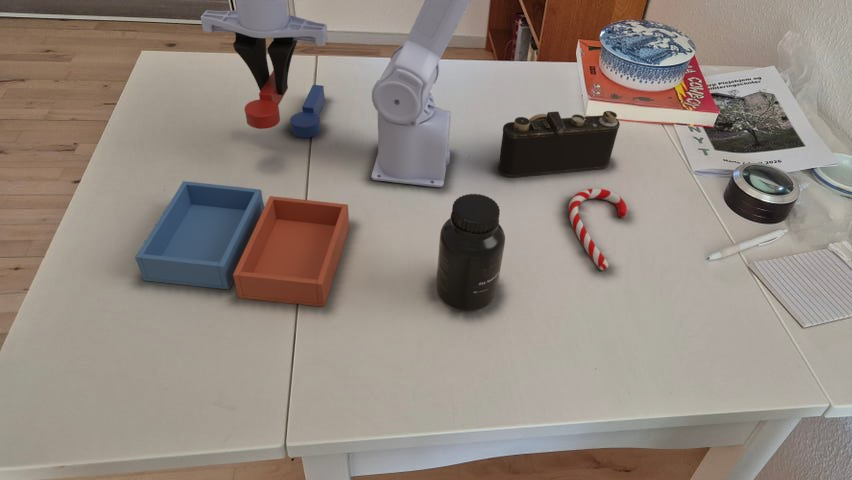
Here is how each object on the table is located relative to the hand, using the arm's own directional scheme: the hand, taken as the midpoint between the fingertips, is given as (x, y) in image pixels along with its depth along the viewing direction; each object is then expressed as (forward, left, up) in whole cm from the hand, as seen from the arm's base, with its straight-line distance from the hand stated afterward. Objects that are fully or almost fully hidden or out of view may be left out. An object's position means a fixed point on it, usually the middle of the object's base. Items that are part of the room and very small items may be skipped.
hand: (274, 90), depth 86 cm
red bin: (-8, +22, -8) cm, 25 cm away
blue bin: (+3, +21, -8) cm, 23 cm away
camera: (-37, -3, -9) cm, 38 cm away
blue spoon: (-2, -7, -8) cm, 11 cm away
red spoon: (0, +2, -1) cm, 2 cm away
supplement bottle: (-27, +24, -9) cm, 37 cm away
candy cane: (-43, +11, -9) cm, 45 cm away
